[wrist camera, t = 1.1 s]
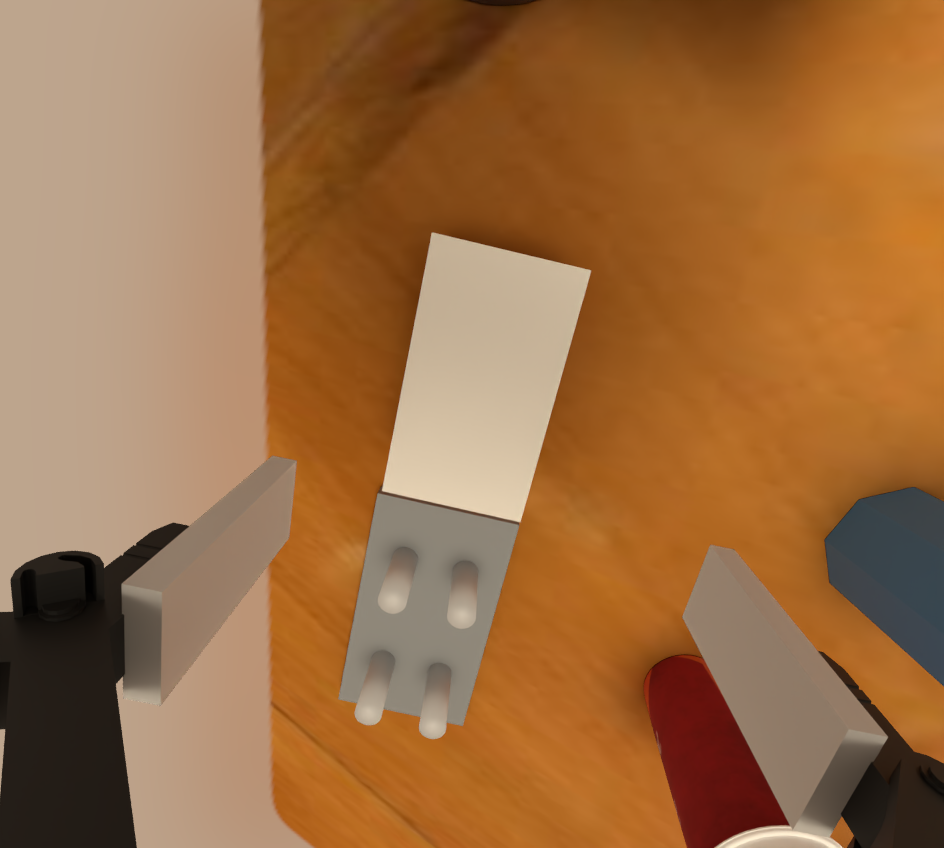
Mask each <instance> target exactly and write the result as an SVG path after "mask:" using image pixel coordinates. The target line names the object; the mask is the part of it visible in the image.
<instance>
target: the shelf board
mask: <svg viewBox="0 0 944 848" xmlns="http://www.w3.org/2000/svg"><path fill="white" fill-rule="evenodd" d="M590 273H591V270H587V269H583V268H579V267H575V266H571V265H567V264H562V263H558V262H554V261H550V260H546V259H541V258H537V257H533V256H529V255H525V254H521V253H516V252H512V251H508V250H504V249H500V248H495V247H491V246H487V245H483V244H479V243H475V242H470V241H466V240H462V239H458V238H454V237H449V236H445V235H441V234H437V233H433V232H432V235H431V240H430V245H429V250H428V255H427V261H426V266H425V271H424V276H423V281H422V287H421V292H420V297H419V302H418V307H417V312H416V318H415V323H414V328H413V333H412V338H411V344H410V349H409V354H408V359H407V364H406V369H405V375H404V380H403V385H402V390H401V395H400V401H399V406H398V411H397V416H396V421H395V426H394V432H393V437H392V442H391V447H390V452H389V458H388V463H387V468H386V473H385V478H384V483H383V489H382V491H384V492H388V493H393V494H397V495H402V496H406V497H410V498H415V499H419V500H424V501H428V502H433V503H437V504H442V505H446V506H450V507H455V508H459V509H464V510H468V511H473V512H477V513H481V514H486V515H490V516H495V517H499V518H504V519H508V520H513V521H517V522H521V518H522V515H523V511H524V508H525V504H526V501H527V497H528V494H529V490H530V486H531V483H532V479H533V476H534V472H535V469H536V465H537V462H538V458H539V454H540V451H541V447H542V444H543V440H544V437H545V433H546V430H547V426H548V423H549V419H550V415H551V412H552V408H553V405H554V401H555V398H556V394H557V391H558V387H559V383H560V380H561V376H562V373H563V369H564V366H565V362H566V359H567V355H568V352H569V348H570V344H571V341H572V337H573V334H574V330H575V327H576V323H577V320H578V316H579V312H580V309H581V305H582V302H583V298H584V295H585V291H586V288H587V284H588V281H589V277H590Z"/></svg>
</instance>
